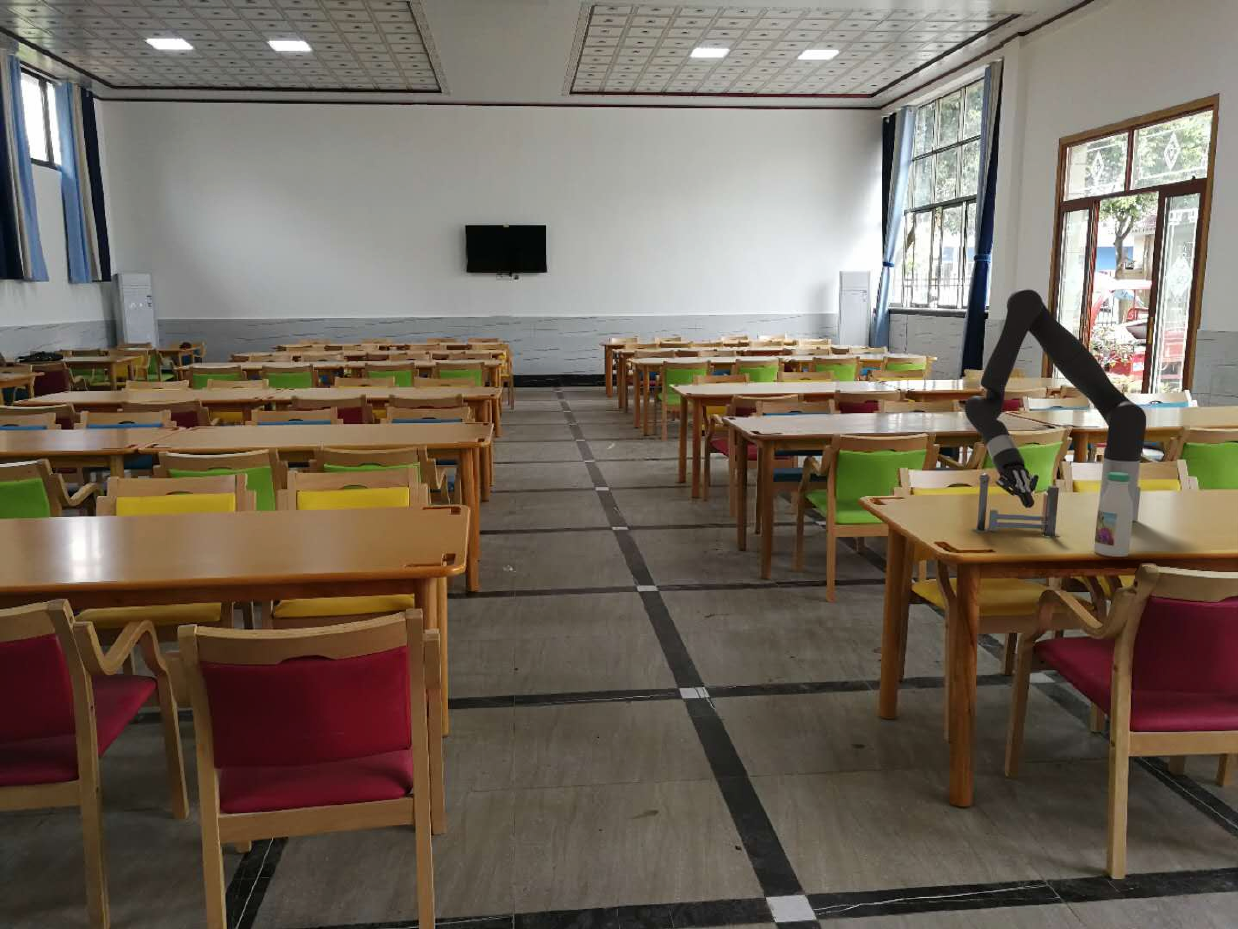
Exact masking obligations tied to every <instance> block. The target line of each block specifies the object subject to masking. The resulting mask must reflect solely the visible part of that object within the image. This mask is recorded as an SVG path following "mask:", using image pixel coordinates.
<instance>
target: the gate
mask: <svg viewBox="0 0 1238 929" xmlns="http://www.w3.org/2000/svg"><path fill="white" fill-rule="evenodd" d="M1047 497H1048V492H1047V493H1043V499H1042V500H1043V501H1042V511H1041V515H1037V514H1036V515H1035V514H1034V515H1031V514H1028V515H1027V514H1003V513H1001V514H998V513H999V511H998V510H997V509H989V518H988V530H989V531H997V528H1002V529H1032V530H1033V529H1034V530H1035V529H1037V530H1040V531H1041V532H1045V520H1046V509H1047ZM998 520H1000V522H999V521H998ZM1001 520H1003V521H1005V520H1006V521H1008V520H1009V521H1035V522H1040V523H1034V522H1033V523H1030V522H1029V523H1028V522H1002V521H1001Z"/></svg>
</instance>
